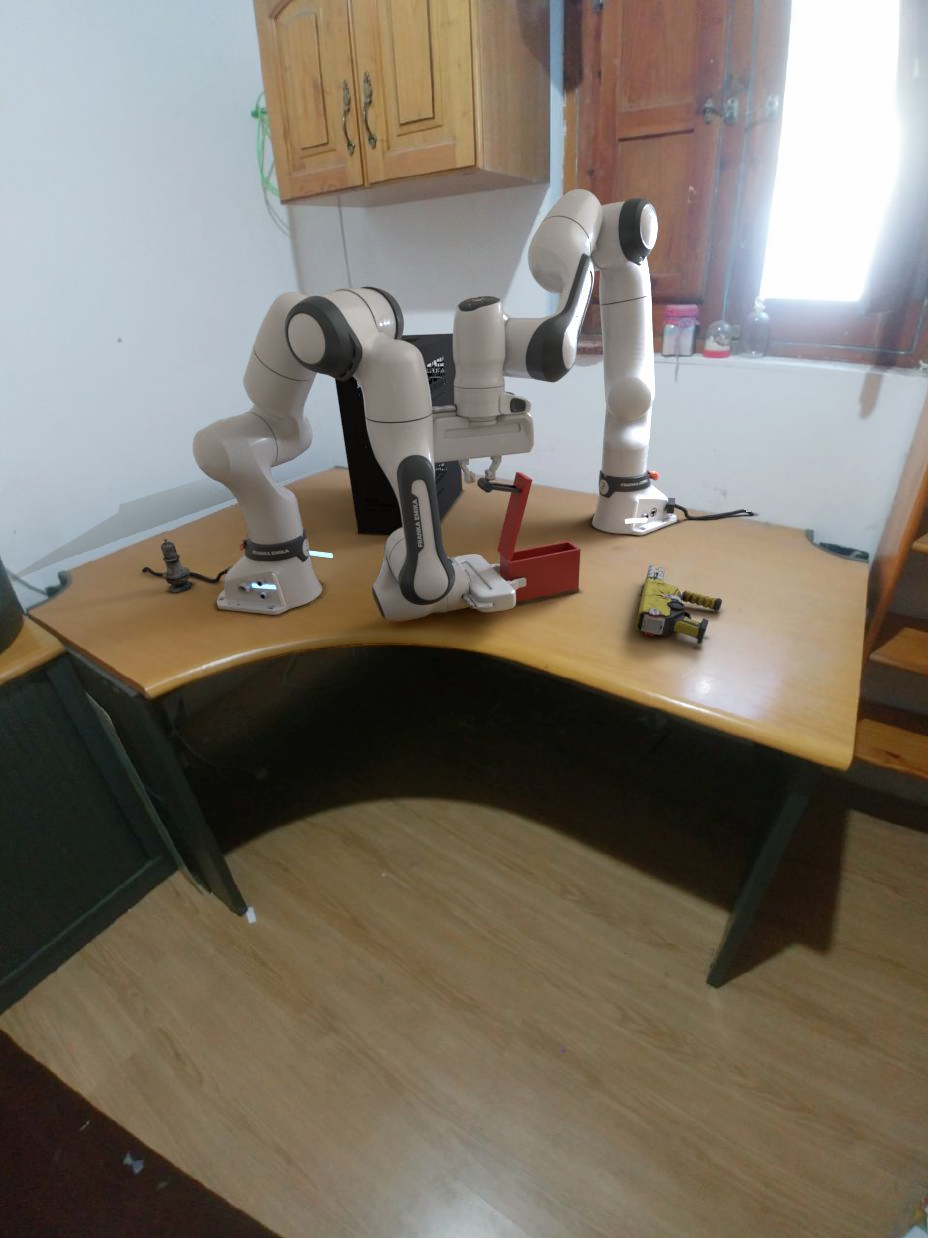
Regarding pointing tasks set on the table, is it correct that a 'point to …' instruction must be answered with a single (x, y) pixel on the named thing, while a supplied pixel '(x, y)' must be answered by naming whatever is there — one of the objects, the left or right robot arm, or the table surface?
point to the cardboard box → (367, 478)
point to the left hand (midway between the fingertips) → (518, 574)
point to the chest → (544, 571)
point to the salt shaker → (175, 569)
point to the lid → (510, 510)
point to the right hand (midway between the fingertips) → (480, 481)
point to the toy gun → (670, 608)
